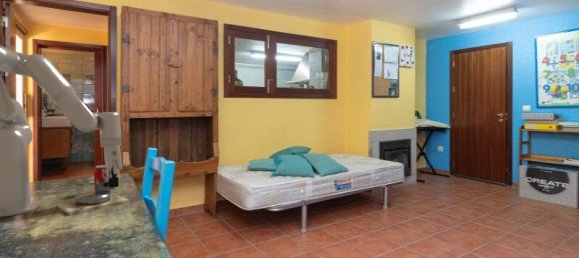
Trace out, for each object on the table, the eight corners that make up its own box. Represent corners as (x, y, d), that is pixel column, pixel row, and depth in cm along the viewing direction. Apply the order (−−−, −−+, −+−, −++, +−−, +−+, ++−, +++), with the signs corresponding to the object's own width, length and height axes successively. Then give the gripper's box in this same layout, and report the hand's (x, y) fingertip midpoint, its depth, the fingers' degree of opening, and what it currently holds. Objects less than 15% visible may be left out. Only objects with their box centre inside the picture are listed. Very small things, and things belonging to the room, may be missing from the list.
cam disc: (104, 203, 124) (104, 188, 123) (69, 206, 121) (68, 190, 121) (116, 194, 138) (115, 180, 138) (84, 196, 135) (84, 182, 135)
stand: (69, 215, 116) (69, 206, 115) (57, 206, 126) (56, 198, 126) (128, 202, 131) (128, 194, 130) (112, 195, 141) (112, 188, 141)
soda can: (99, 195, 143) (97, 167, 142) (92, 192, 147) (90, 166, 146) (115, 191, 148) (114, 165, 148) (108, 189, 153) (107, 164, 152)
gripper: (125, 142, 130) (128, 188, 131) (117, 140, 142) (120, 182, 143) (103, 144, 125) (107, 192, 126) (97, 142, 137) (100, 185, 138)
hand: (114, 186), depth 135 cm, fingers closed
